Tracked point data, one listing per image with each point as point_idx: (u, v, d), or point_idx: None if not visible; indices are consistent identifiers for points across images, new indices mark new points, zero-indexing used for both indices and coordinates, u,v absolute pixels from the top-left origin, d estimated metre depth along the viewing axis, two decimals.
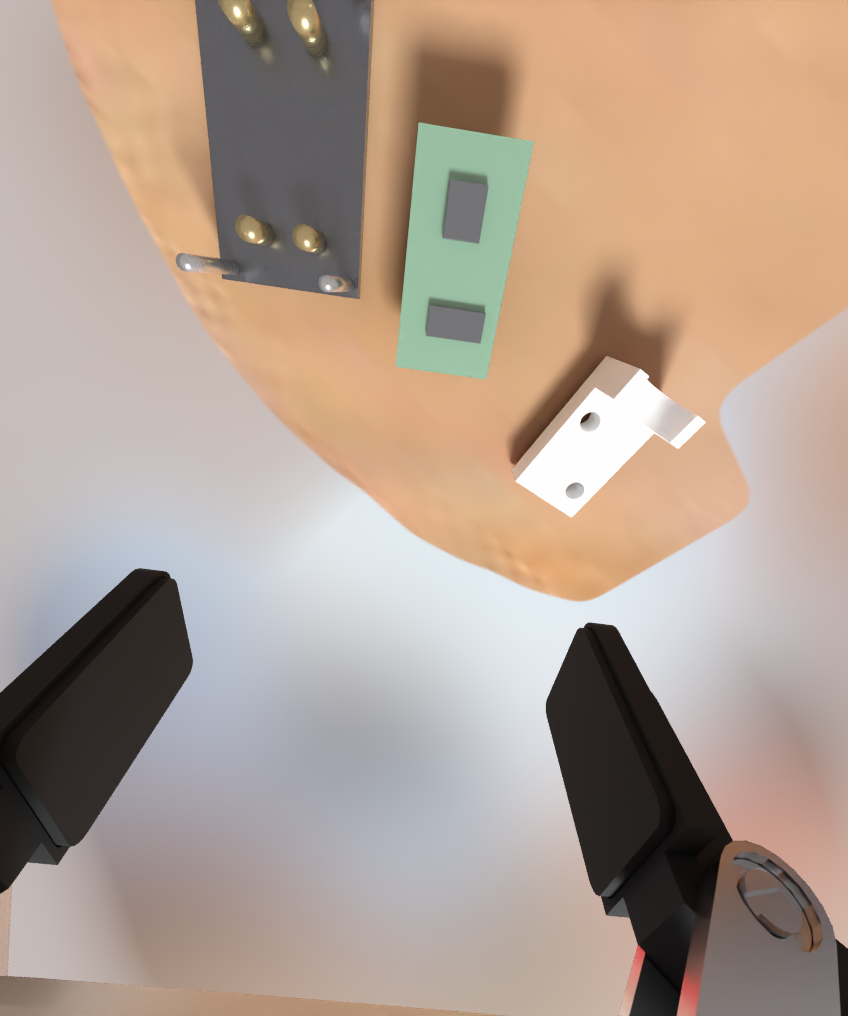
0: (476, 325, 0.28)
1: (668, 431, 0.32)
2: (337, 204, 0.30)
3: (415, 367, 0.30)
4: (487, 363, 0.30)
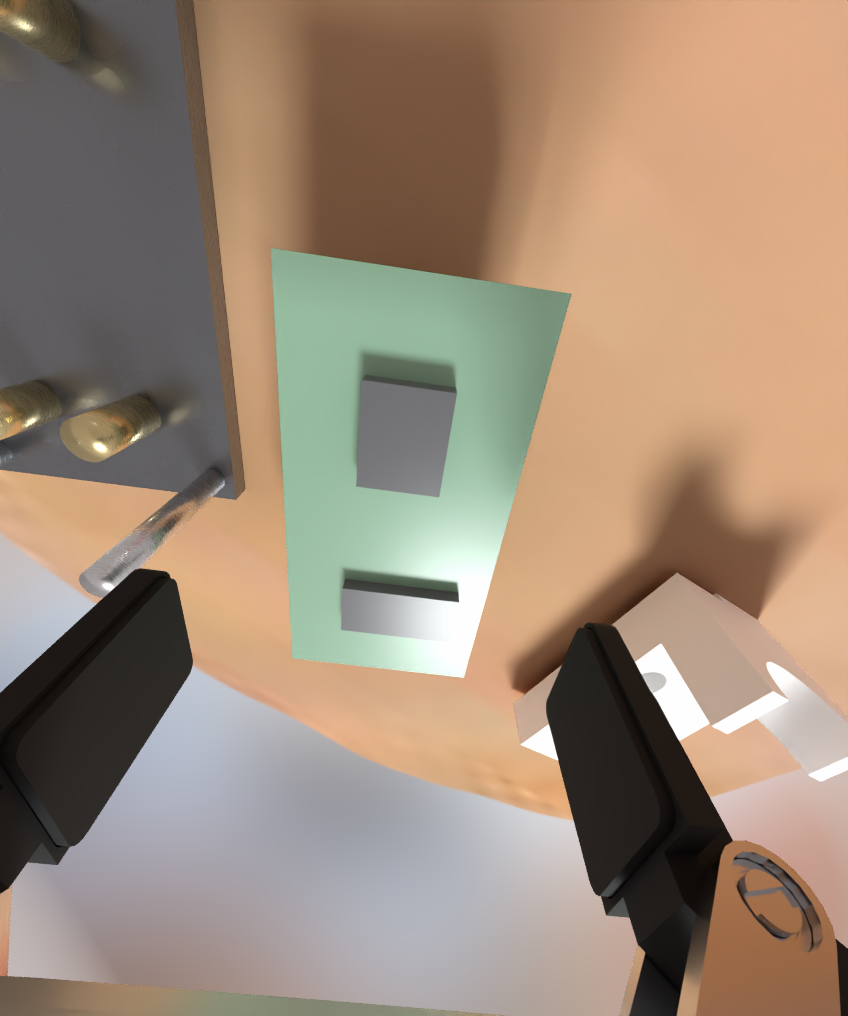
0: (440, 618, 0.14)
1: (800, 744, 0.17)
2: (170, 355, 0.15)
3: (329, 660, 0.16)
4: (465, 658, 0.16)
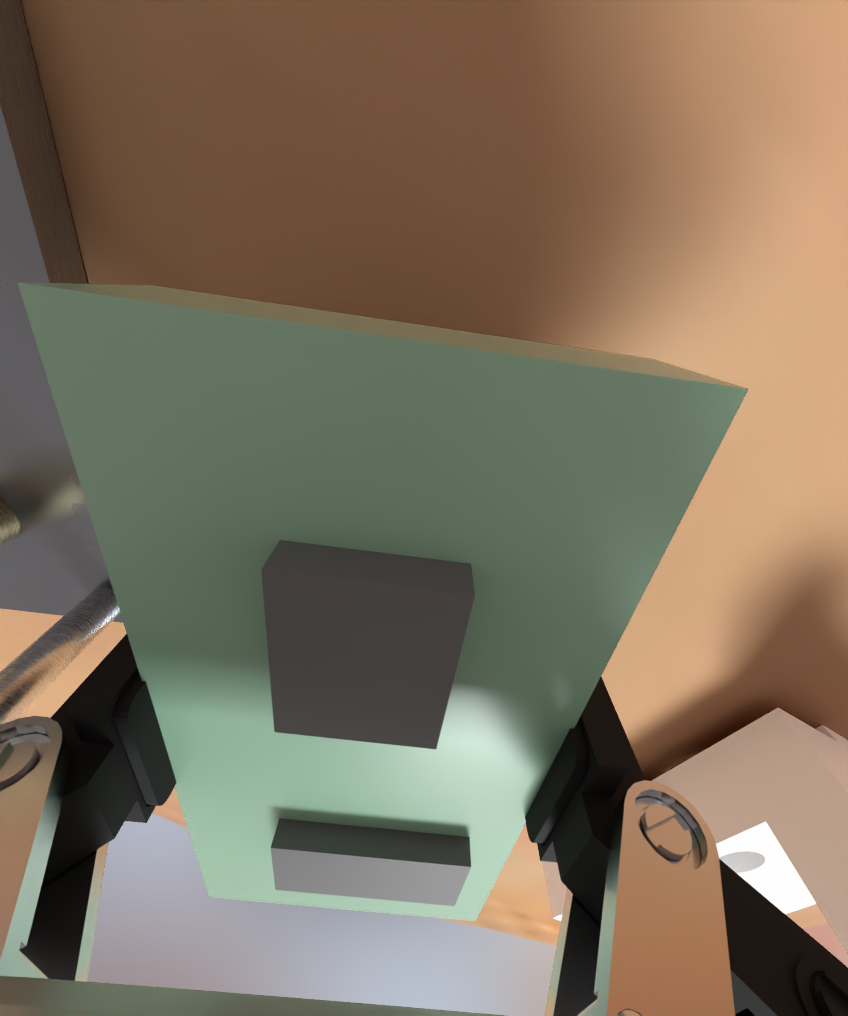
0: (439, 882, 0.08)
1: None
2: (17, 434, 0.10)
3: (266, 900, 0.10)
4: (478, 903, 0.10)
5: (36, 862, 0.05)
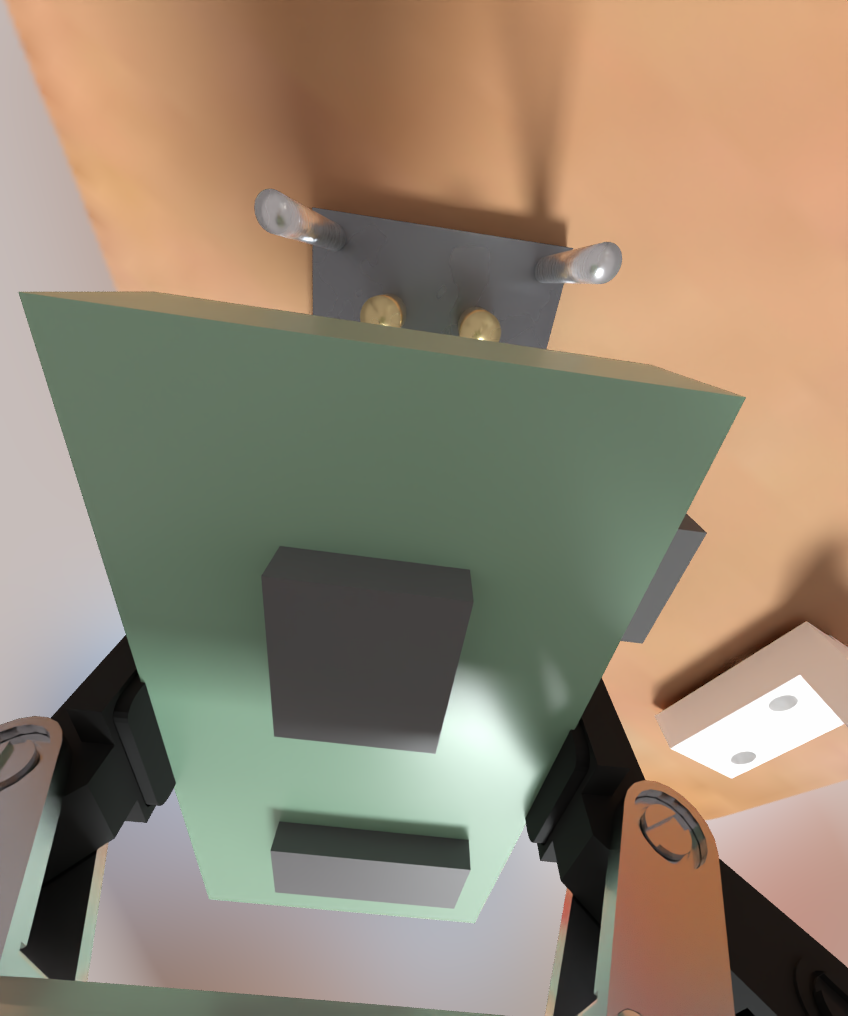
0: (439, 885, 0.08)
1: None
2: None
3: (266, 902, 0.10)
4: (478, 905, 0.10)
5: (36, 862, 0.05)
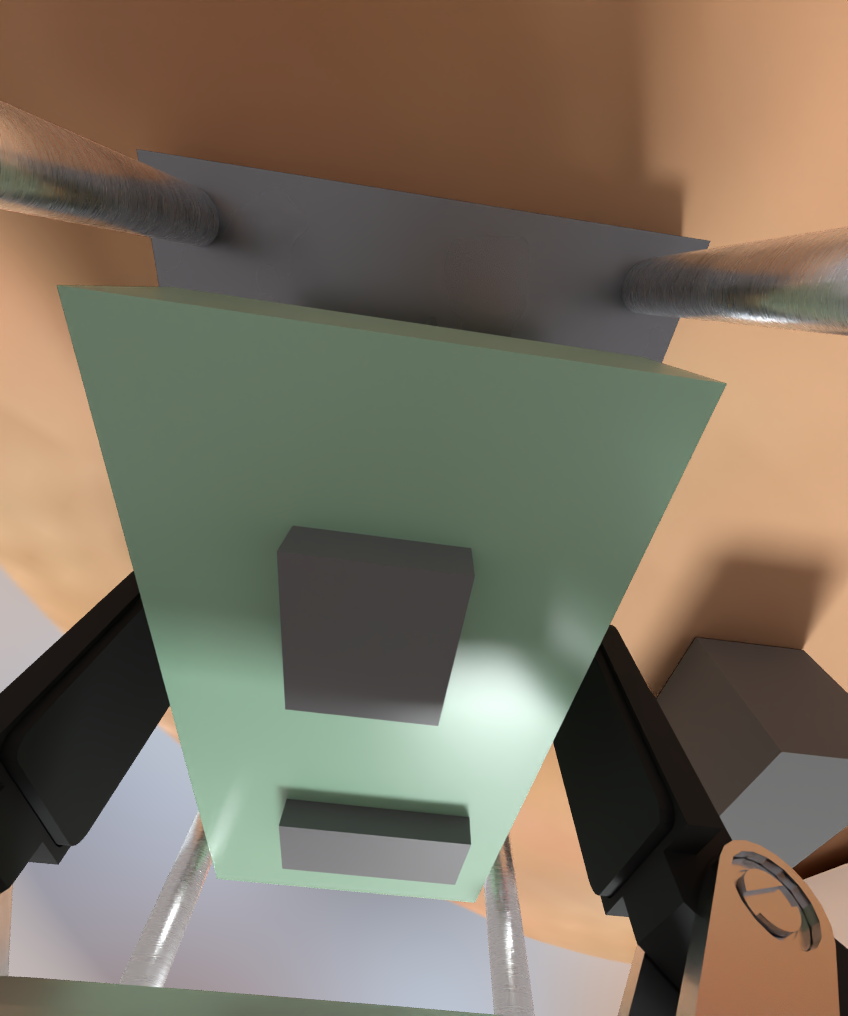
0: (440, 860, 0.09)
1: None
2: None
3: (273, 882, 0.11)
4: (478, 884, 0.10)
5: None
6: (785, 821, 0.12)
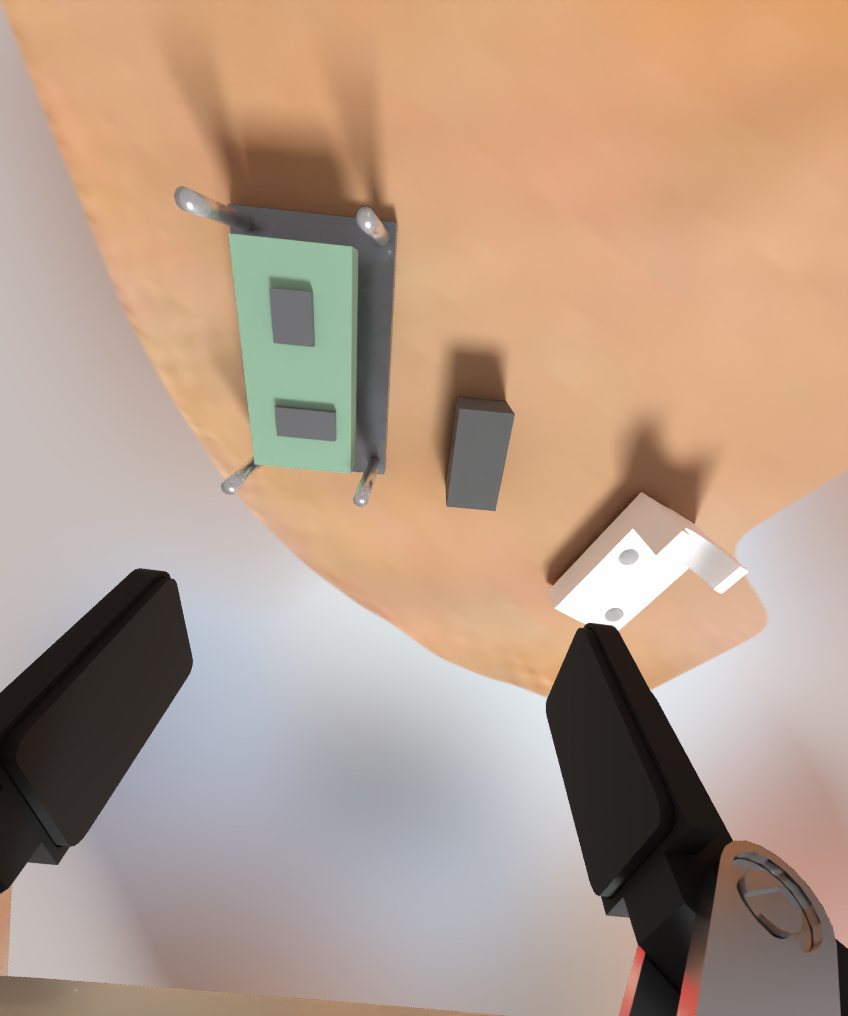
0: (327, 424, 0.27)
1: (710, 575, 0.32)
2: (364, 402, 0.32)
3: (274, 464, 0.29)
4: (348, 458, 0.29)
5: None
6: (480, 454, 0.30)
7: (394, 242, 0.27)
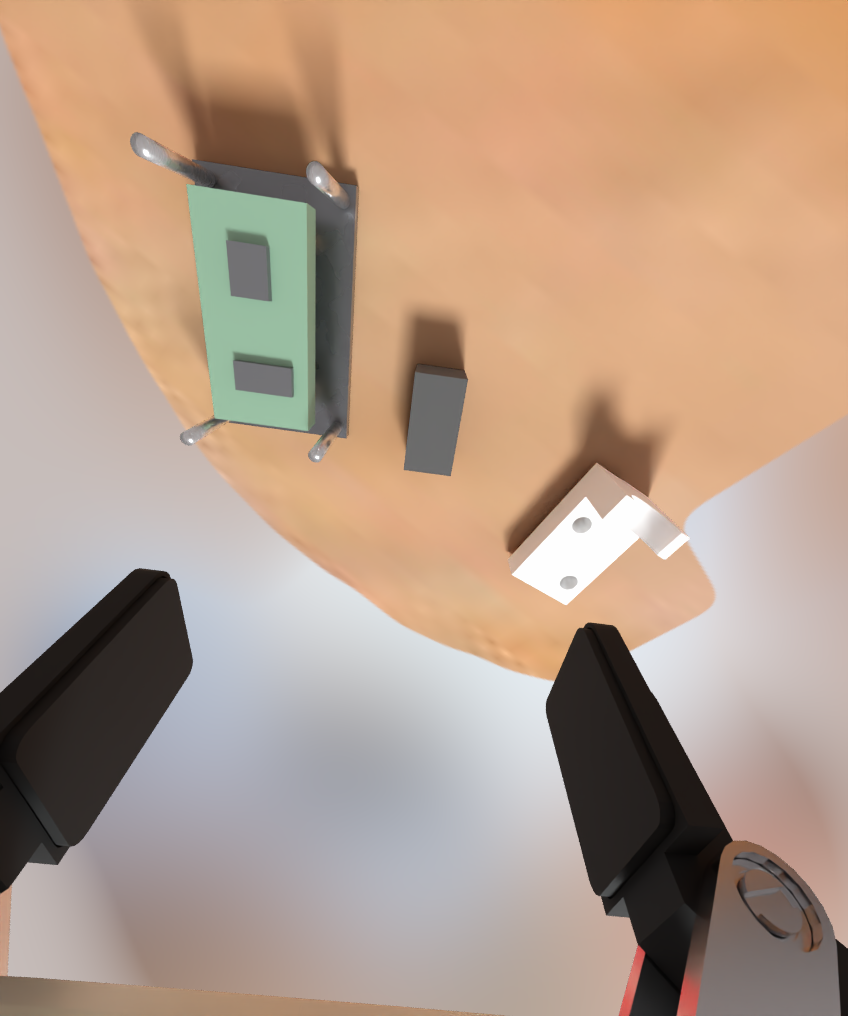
0: (283, 379, 0.28)
1: (655, 542, 0.34)
2: (326, 364, 0.33)
3: (234, 419, 0.30)
4: (306, 415, 0.30)
5: None
6: (435, 419, 0.32)
7: (354, 205, 0.28)
